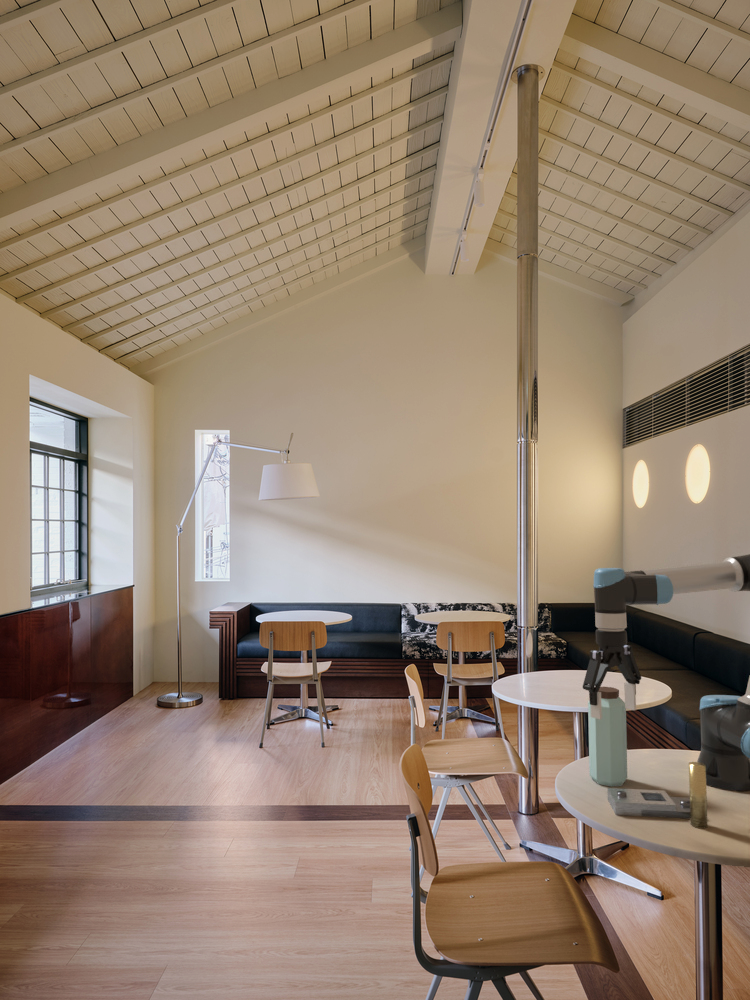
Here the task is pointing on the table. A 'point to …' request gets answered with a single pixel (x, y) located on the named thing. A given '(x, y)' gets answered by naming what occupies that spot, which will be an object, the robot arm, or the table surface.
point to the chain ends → (648, 803)
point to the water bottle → (608, 740)
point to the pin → (698, 795)
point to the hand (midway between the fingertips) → (613, 713)
